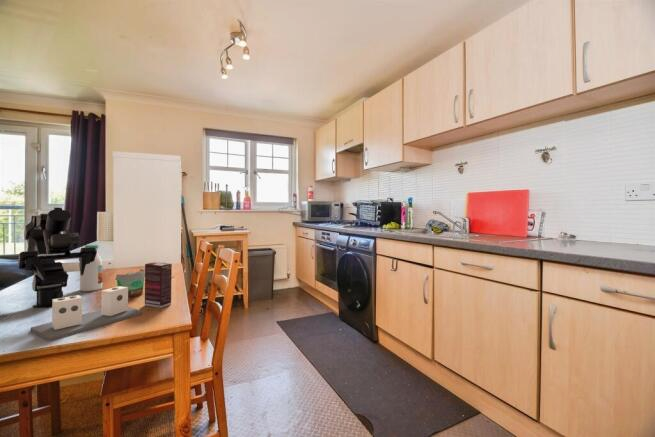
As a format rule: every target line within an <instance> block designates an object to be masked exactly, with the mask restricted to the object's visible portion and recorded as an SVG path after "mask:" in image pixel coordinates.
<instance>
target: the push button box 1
mask: <svg viewBox="0 0 655 437" xmlns="http://www.w3.org/2000/svg"><path fill="white" fill-rule="evenodd" d="M100 297H101V299H100V300H101V302H100V303H101V306H100V310H101V315H106V316H112V315H115V314H118V313H121V312H124V311H127V310H128V307H129V298H128V287H122V286H116V287H115V286H114V287H111V288H110V287H109V288H107V289H103V290H101V296H100Z"/></svg>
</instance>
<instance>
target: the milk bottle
mask: <svg viewBox="0 0 655 437" xmlns="http://www.w3.org/2000/svg"><path fill="white" fill-rule="evenodd" d="M85 247H95V248H96V250H97V254H96V257H95V260H94V261H93V262H90V264H86V266H85V270H84V274H83V275H81V273H80V272H79V290H80V291H81V292H93V291H99V290H101V289H102V288H103V277H104V276H103V268H104V267H103V261H102V257H101V256H100V254H99V251H98V250H99V245H98V244H86V245H84V248H85Z"/></svg>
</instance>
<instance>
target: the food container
mask: <svg viewBox="0 0 655 437" xmlns="http://www.w3.org/2000/svg"><path fill="white" fill-rule="evenodd" d="M115 281H116V282H117V283H116V284H117V285H116V287H118V286H122V287H128V299H133V298H138V297H140V296H143V294H144V286H145V269H140V270H139V271H136V272H129V273H128V272H127V273H125V274H116V276H115Z"/></svg>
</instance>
